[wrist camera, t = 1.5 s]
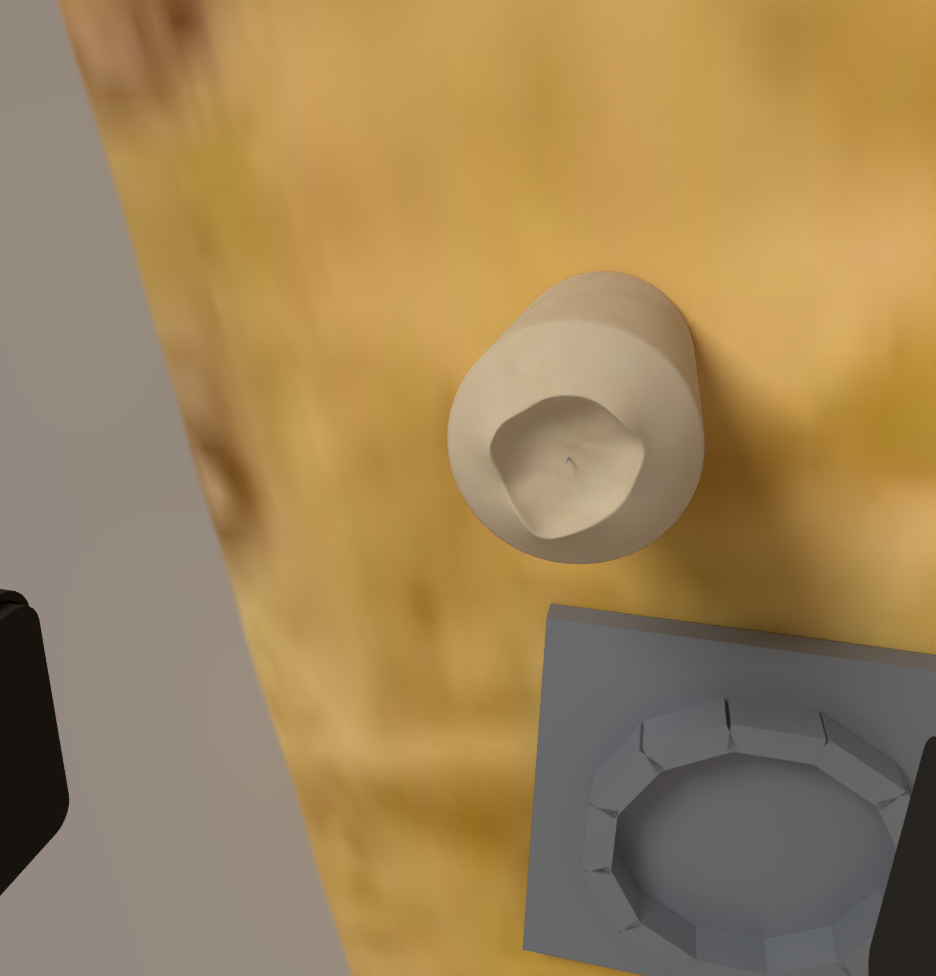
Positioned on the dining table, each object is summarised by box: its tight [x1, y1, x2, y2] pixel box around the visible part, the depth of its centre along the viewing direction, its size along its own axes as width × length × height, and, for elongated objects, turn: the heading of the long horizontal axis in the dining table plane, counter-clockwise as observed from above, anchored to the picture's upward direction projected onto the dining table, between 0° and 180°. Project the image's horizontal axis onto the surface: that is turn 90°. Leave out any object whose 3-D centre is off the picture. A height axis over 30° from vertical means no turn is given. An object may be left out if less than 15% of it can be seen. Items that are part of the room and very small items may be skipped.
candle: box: [447, 271, 705, 564], centre depth 22 cm, size 6×6×10 cm
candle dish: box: [523, 604, 936, 976], centre depth 30 cm, size 15×15×2 cm
